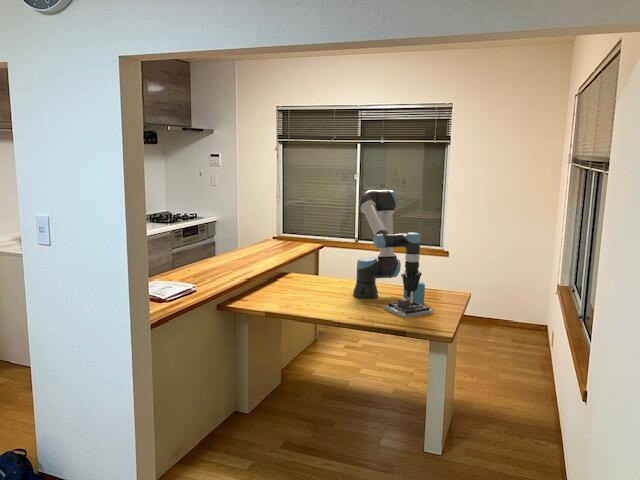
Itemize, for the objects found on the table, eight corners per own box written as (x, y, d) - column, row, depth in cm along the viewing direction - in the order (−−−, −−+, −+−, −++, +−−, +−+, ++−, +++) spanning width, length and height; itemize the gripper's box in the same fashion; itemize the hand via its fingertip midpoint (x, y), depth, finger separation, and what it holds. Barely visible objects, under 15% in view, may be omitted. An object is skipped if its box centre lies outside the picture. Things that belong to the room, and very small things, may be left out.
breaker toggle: (397, 307, 295) (397, 298, 294) (403, 306, 297) (403, 297, 296) (403, 309, 291) (403, 300, 290) (408, 309, 293) (409, 299, 292)
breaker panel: (383, 309, 299) (384, 303, 298) (411, 304, 309) (411, 298, 308) (404, 318, 284) (404, 311, 283) (432, 313, 294) (433, 306, 293)
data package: (424, 302, 315) (425, 282, 313) (424, 304, 310) (425, 284, 308) (403, 300, 317) (404, 281, 315) (403, 302, 312) (404, 283, 310)
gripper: (407, 263, 286) (405, 305, 290) (425, 261, 292) (423, 302, 296) (398, 260, 292) (396, 302, 296) (417, 258, 298) (414, 299, 302)
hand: (410, 302), depth 296 cm, fingers closed
